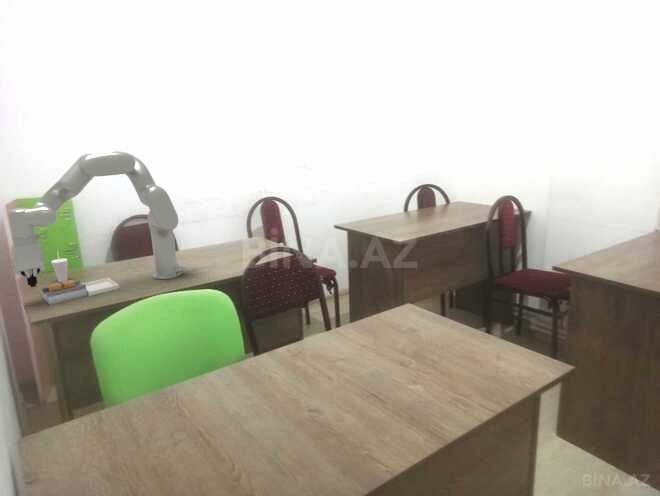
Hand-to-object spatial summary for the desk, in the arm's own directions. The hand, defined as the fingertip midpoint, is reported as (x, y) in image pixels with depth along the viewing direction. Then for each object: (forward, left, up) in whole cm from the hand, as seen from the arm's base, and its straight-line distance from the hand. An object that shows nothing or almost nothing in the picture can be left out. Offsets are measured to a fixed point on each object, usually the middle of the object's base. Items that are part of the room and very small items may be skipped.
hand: (33, 286), depth 187 cm
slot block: (-7, -7, -7) cm, 13 cm away
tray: (-17, -17, -7) cm, 25 cm away
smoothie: (+7, -28, -8) cm, 30 cm away
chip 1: (-5, -5, -4) cm, 9 cm away
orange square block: (-9, -9, -4) cm, 13 cm away
